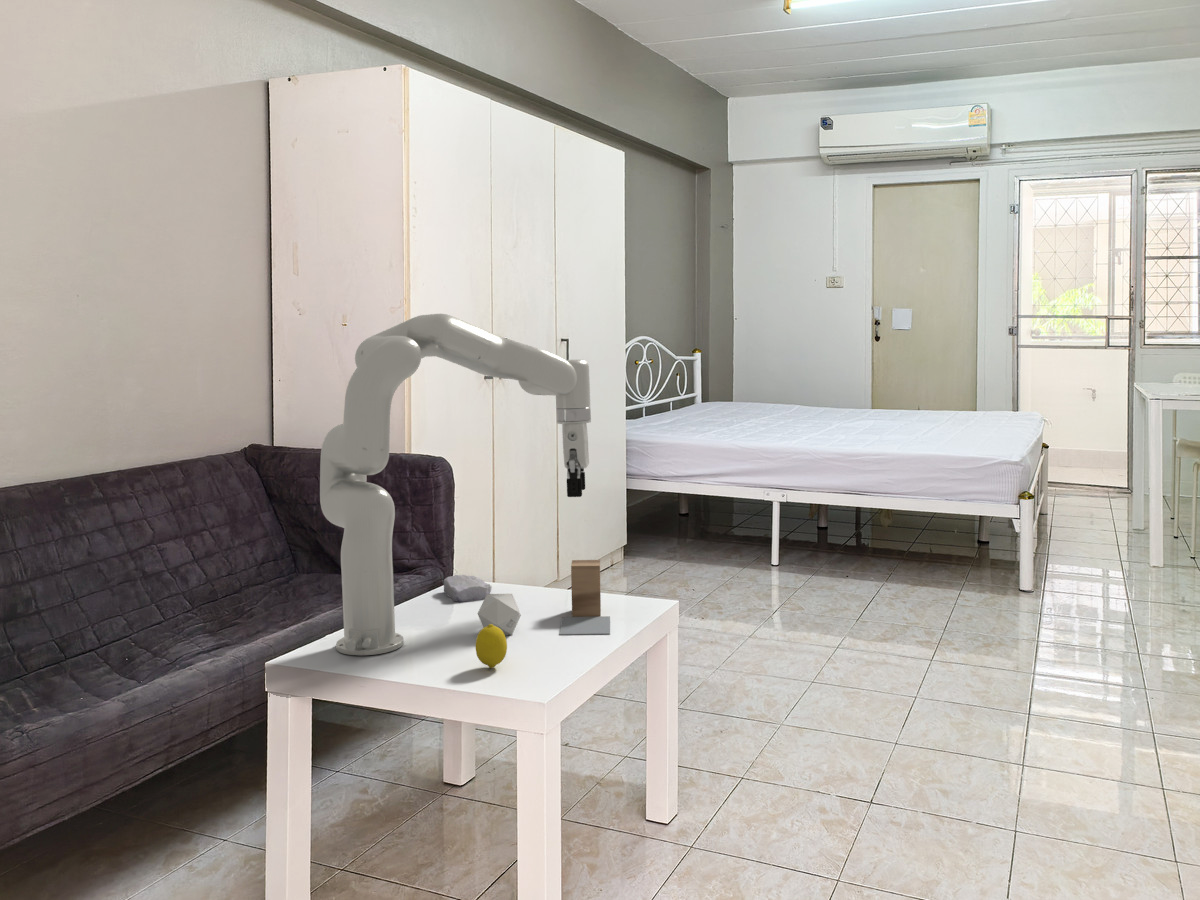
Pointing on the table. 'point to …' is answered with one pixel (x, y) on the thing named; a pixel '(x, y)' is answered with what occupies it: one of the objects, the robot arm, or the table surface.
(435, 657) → the table surface
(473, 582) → the stone block
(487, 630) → the lemon
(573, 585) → the walnut block
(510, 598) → the die
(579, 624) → the pad
